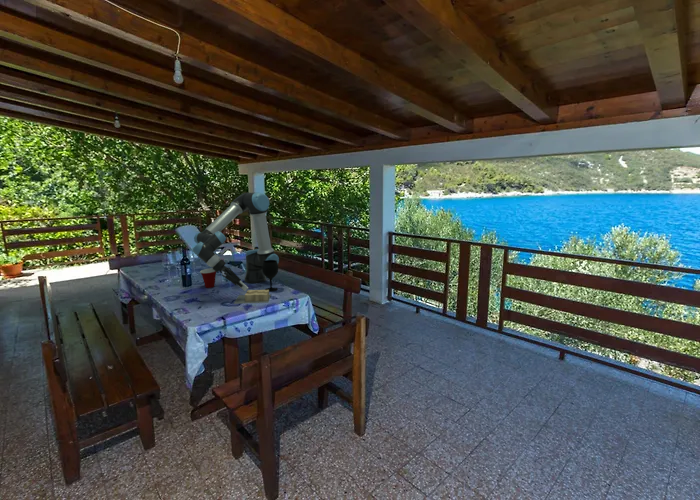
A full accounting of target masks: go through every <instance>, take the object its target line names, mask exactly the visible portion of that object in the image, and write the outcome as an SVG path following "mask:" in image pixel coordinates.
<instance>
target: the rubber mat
mask: <svg viewBox="0 0 700 500" xmlns="http://www.w3.org/2000/svg"><path fill="white" fill-rule="evenodd" d="M271 296H272V293H269V298H268V300H267V301H250V302H245V294H239V295H238V296H237V298H236V299H235V301H234V303H233V304H236V305H238V304H262V303H263V304H265V303H267V304H268V303H269V302H270V300H271V299H270V298H271Z"/></svg>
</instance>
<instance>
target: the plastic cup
mask: <svg viewBox="0 0 700 500" xmlns="http://www.w3.org/2000/svg"><path fill="white" fill-rule="evenodd" d="M199 273H200V274H201V277H202V280H203V283H204V286H205V288H206V289H211V288H215V285H216V284H215V283H216V275H217V272H216V271H215V270H213V267H209V268H205V269H204V268H203V269H202V270H200V271H199Z"/></svg>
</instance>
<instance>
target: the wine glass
mask: <svg viewBox="0 0 700 500" xmlns="http://www.w3.org/2000/svg"><path fill="white" fill-rule="evenodd" d="M262 271H263V274H264V275H265V276H266V279H267V278H268V279H269V287H267V288H265V289H264V290H269V293H270V292H276V291H278V292H279V291H280V289H279V288H278V287H273V285H272V284H273V283H272V282H273V279H274V278H275V277H276V276H277V275H278V273H279V263H277V261H276V260H265V261H263V265H262Z"/></svg>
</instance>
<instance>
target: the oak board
mask: <svg viewBox="0 0 700 500" xmlns="http://www.w3.org/2000/svg"><path fill="white" fill-rule="evenodd" d="M269 294H270V292H269V290H265V289H247V290H246V291H245V294H244V295H245V302H250V301H267V300H268V298H269Z"/></svg>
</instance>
